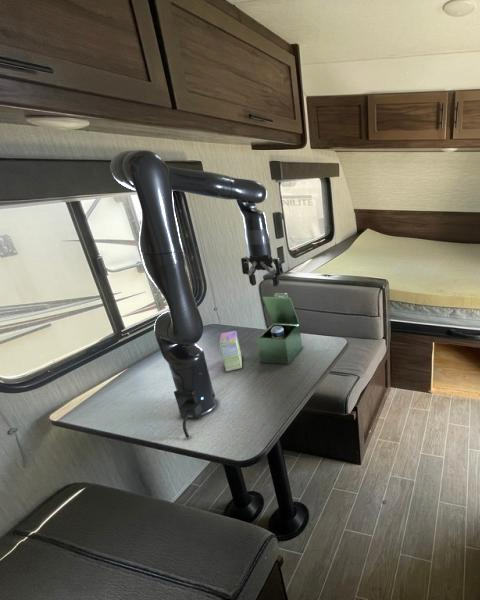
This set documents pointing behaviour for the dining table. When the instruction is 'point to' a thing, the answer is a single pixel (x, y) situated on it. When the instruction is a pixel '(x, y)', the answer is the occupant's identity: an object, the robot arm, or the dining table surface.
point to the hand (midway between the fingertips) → (265, 285)
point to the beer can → (278, 332)
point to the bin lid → (281, 309)
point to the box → (230, 350)
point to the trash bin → (280, 344)
